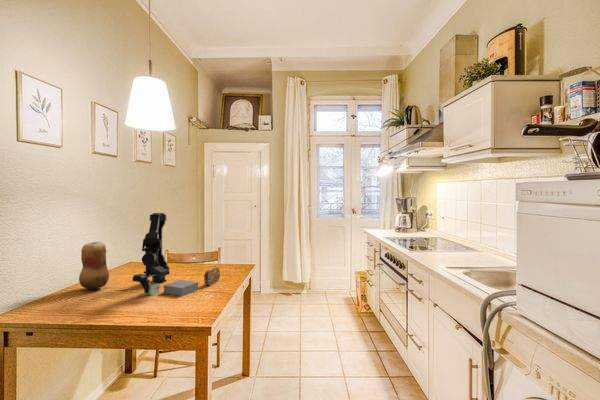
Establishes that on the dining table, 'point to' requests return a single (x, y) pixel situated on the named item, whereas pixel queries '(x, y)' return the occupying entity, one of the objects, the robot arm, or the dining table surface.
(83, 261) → the butternut squash
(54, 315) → the dining table surface
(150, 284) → the cube
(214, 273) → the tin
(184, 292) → the plinth
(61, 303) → the dining table surface
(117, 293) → the dining table surface
